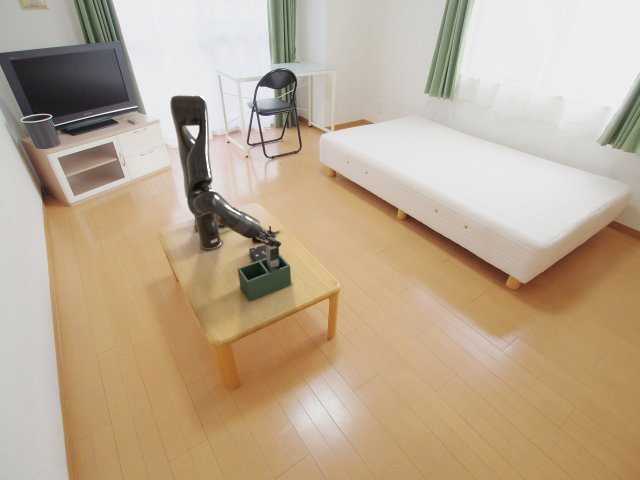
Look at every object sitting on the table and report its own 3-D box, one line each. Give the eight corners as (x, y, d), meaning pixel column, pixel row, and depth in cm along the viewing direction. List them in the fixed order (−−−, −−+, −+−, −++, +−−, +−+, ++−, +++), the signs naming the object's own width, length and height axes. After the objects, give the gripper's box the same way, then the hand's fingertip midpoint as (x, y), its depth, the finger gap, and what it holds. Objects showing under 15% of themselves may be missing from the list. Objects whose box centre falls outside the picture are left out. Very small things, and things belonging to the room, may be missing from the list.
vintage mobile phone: (272, 282, 137) (268, 231, 123) (268, 275, 140) (263, 224, 126) (281, 280, 138) (277, 228, 124) (276, 273, 142) (272, 222, 128)
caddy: (240, 286, 138) (237, 268, 132) (280, 271, 146) (279, 253, 140) (249, 301, 131) (246, 282, 126) (291, 284, 139) (290, 265, 134)
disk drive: (249, 253, 156) (259, 272, 145) (248, 248, 155) (258, 267, 144) (270, 247, 160) (281, 265, 149) (269, 243, 159) (281, 260, 148)
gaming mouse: (282, 234, 169) (281, 228, 167) (256, 245, 161) (255, 238, 159) (275, 229, 173) (274, 222, 171) (249, 239, 165) (248, 232, 163)
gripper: (258, 225, 112) (291, 243, 125) (242, 206, 122) (274, 225, 135) (245, 242, 113) (279, 259, 125) (230, 223, 123) (262, 240, 135)
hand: (276, 241), depth 130 cm, fingers closed on vintage mobile phone, 4 cm apart
